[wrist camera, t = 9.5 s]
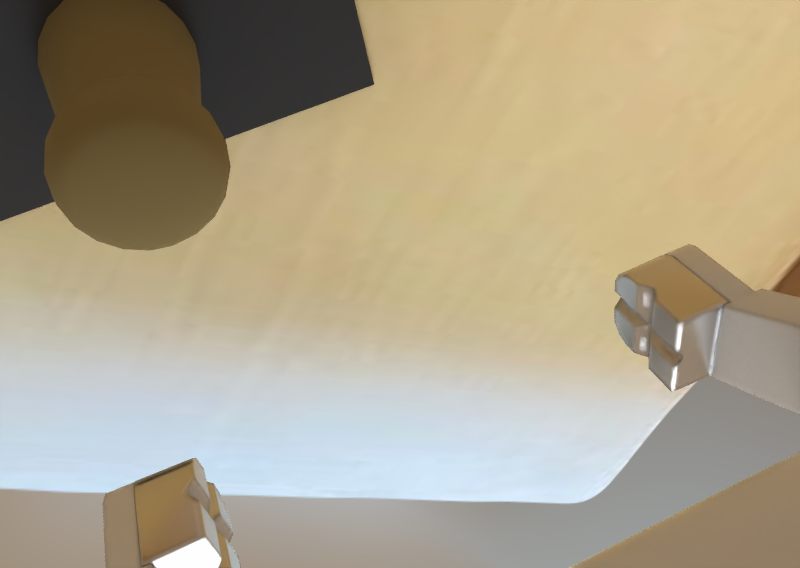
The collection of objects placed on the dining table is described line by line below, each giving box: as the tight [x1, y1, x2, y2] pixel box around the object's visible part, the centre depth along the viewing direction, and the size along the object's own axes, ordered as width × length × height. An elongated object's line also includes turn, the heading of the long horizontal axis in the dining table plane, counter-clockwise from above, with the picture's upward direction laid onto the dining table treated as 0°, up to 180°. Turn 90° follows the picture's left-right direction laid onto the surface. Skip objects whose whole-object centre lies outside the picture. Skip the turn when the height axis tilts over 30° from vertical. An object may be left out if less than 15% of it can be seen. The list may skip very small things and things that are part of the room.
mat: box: [0, 0, 374, 221], centre depth 27 cm, size 11×20×1 cm, turn 102°
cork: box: [38, 0, 230, 250], centre depth 24 cm, size 6×6×11 cm
